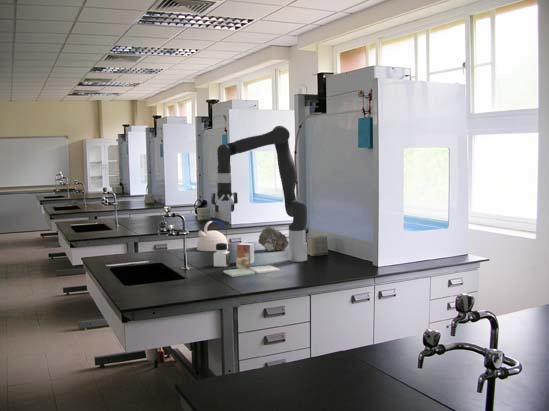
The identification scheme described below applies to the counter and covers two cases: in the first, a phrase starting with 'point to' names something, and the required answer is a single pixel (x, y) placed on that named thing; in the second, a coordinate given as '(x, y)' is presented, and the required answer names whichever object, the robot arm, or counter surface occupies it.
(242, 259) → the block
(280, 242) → the rock
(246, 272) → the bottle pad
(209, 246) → the kettle
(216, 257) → the medicine bottle
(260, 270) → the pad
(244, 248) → the small box
